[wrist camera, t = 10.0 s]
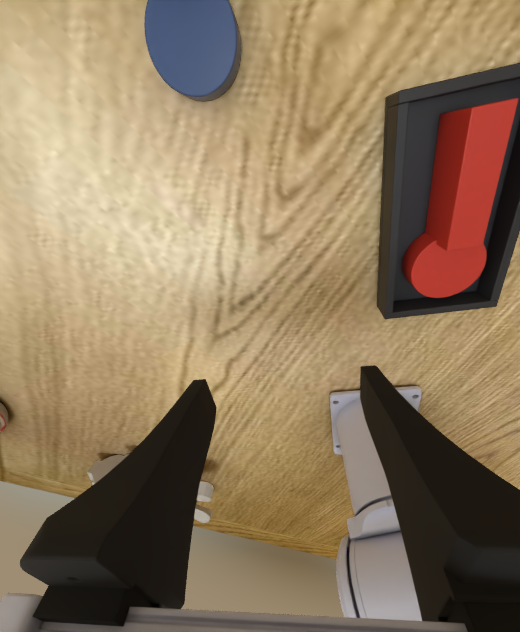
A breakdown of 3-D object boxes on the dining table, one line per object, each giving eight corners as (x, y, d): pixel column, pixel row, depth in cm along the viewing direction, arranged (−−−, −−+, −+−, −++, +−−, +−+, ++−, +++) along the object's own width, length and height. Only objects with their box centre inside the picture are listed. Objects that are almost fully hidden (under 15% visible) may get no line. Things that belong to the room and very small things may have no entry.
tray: (478, 293, 19) (496, 307, 18) (376, 305, 21) (384, 319, 19) (539, 61, 13) (575, 49, 11) (385, 96, 14) (399, 90, 12)
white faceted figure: (70, 473, 29) (205, 510, 28) (102, 432, 33) (220, 462, 32) (89, 513, 34) (203, 546, 33) (115, 472, 38) (217, 500, 37)
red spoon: (414, 119, 14) (441, 114, 12) (504, 99, 14) (552, 90, 11) (399, 291, 19) (415, 311, 17) (463, 282, 19) (490, 302, 16)
